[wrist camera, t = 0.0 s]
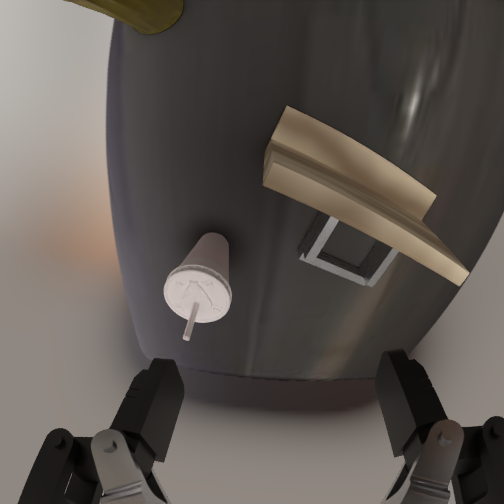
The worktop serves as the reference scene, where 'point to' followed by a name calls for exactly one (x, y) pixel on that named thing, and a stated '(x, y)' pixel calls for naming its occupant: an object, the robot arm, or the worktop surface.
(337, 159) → the wall board
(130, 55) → the worktop surface
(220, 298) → the smoothie
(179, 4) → the vase
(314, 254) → the white u-shaped frame
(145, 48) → the worktop surface
